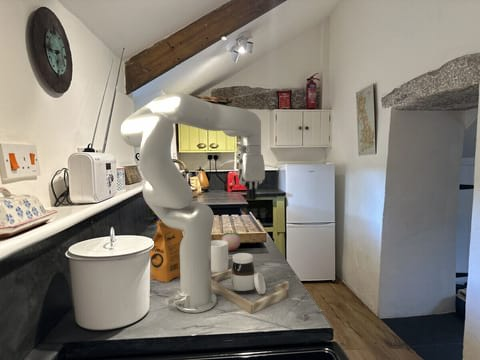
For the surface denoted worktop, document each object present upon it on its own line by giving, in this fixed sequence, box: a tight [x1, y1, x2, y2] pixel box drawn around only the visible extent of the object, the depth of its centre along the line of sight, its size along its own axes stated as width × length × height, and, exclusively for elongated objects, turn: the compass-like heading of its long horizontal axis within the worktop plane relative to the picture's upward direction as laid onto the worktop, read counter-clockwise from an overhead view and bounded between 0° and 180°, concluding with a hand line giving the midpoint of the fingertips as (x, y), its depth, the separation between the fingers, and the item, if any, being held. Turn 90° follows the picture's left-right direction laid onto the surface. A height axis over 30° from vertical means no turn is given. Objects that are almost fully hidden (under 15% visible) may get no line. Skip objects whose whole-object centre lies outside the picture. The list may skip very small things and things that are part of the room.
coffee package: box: [149, 220, 184, 283], centre depth 109 cm, size 10×12×22 cm
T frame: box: [211, 266, 290, 315], centre depth 99 cm, size 20×25×2 cm
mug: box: [211, 239, 229, 274], centre depth 118 cm, size 9×12×11 cm
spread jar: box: [230, 252, 266, 295], centre depth 98 cm, size 12×11×12 cm
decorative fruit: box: [221, 230, 242, 252], centre depth 138 cm, size 9×8×10 cm
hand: (251, 199), depth 109 cm, fingers closed
